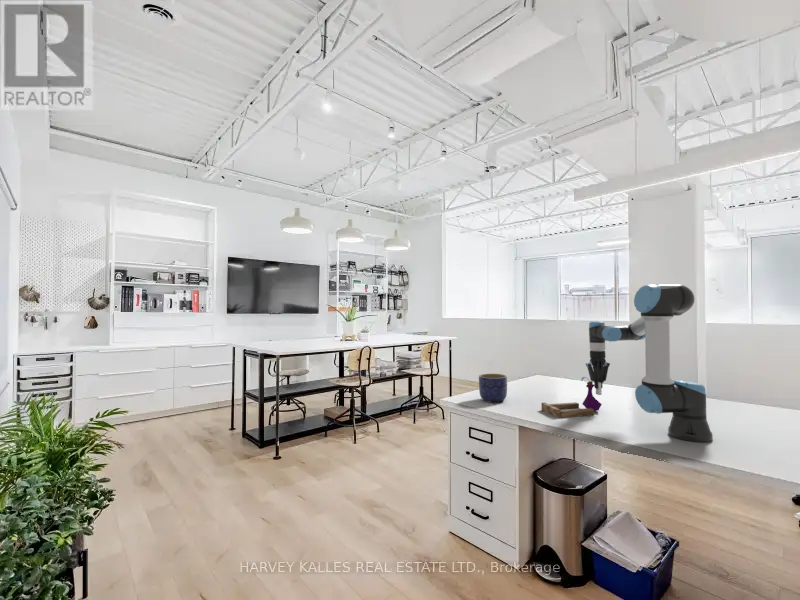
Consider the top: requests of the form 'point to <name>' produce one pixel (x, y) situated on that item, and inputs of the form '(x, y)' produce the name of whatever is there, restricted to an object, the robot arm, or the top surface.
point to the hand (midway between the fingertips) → (598, 394)
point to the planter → (493, 387)
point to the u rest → (566, 410)
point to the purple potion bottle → (591, 398)
